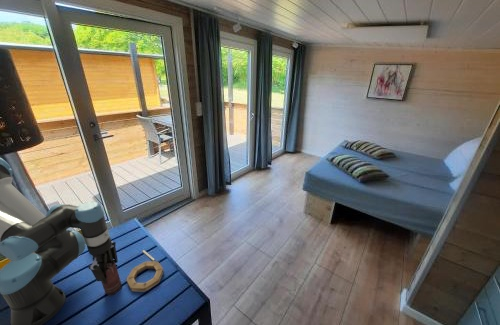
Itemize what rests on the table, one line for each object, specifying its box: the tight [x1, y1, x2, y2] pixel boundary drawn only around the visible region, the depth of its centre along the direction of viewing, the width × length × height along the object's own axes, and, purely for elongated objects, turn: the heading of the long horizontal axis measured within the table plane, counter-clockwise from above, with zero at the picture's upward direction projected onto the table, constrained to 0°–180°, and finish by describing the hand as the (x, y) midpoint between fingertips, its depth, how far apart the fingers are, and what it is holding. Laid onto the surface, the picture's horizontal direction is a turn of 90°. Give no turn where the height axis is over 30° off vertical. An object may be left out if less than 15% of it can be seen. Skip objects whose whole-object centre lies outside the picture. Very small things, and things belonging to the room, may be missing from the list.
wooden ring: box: [126, 260, 164, 293], centre depth 96 cm, size 14×14×2 cm
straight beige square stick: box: [142, 249, 156, 261], centre depth 107 cm, size 10×1×1 cm, turn 54°
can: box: [100, 261, 122, 296], centre depth 88 cm, size 6×6×14 cm
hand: (112, 283), depth 89 cm, fingers open, 3 cm apart
